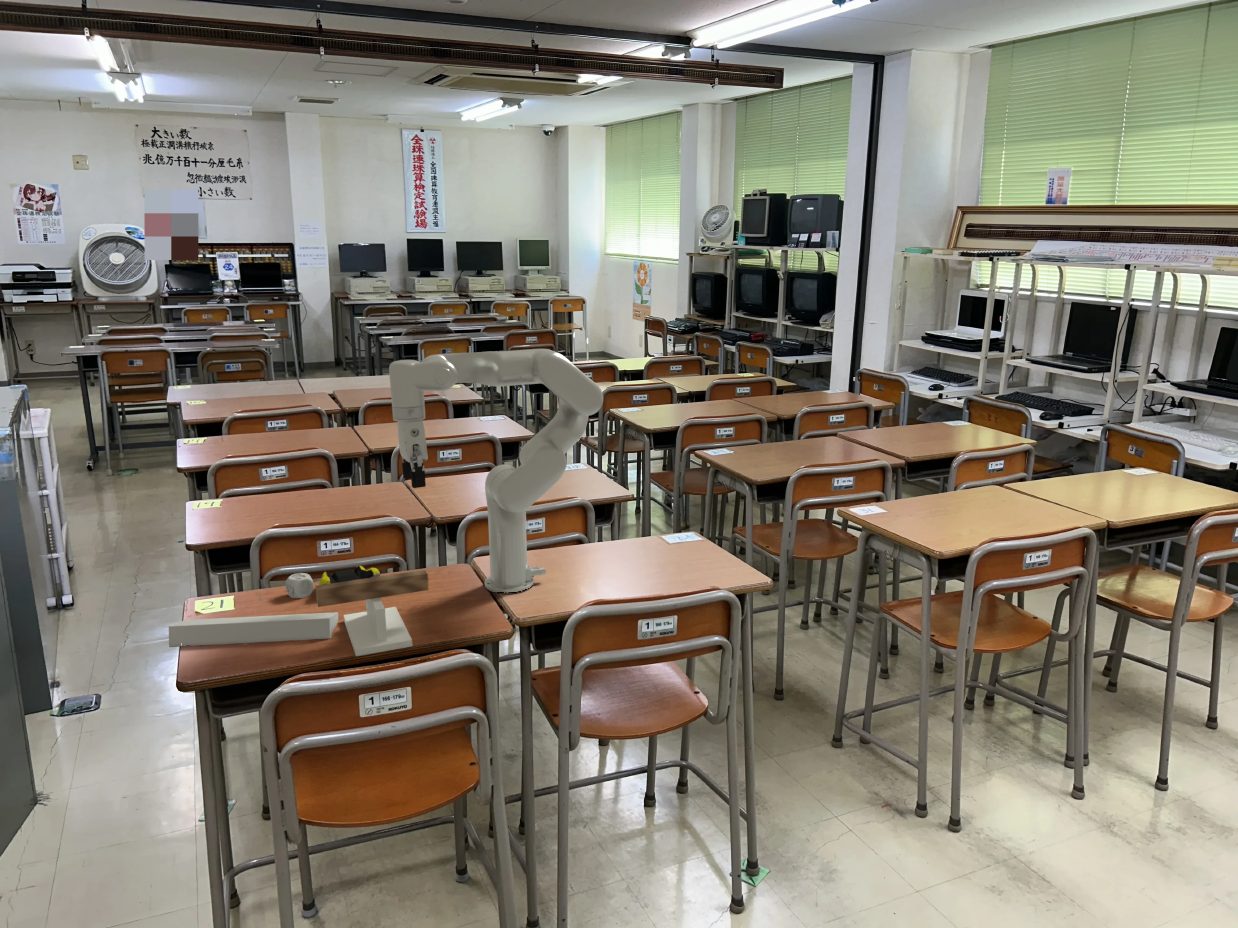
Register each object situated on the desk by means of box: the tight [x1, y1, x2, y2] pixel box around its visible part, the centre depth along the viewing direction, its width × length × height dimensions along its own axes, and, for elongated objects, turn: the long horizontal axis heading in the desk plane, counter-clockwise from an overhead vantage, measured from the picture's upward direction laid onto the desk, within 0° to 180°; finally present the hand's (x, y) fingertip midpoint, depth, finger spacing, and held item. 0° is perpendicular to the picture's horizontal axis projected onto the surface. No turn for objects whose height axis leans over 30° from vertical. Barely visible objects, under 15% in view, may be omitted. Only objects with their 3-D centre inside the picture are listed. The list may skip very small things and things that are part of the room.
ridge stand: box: [343, 598, 413, 657], centre depth 199 cm, size 12×20×9 cm, turn 24°
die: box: [285, 572, 315, 599], centre depth 221 cm, size 5×5×5 cm
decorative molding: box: [168, 611, 339, 648], centre depth 200 cm, size 34×5×10 cm
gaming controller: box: [318, 565, 381, 585], centre depth 225 cm, size 15×6×10 cm
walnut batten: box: [315, 569, 429, 608], centre depth 197 cm, size 24×3×4 cm, turn 114°
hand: (414, 482), depth 213 cm, fingers open, 9 cm apart
